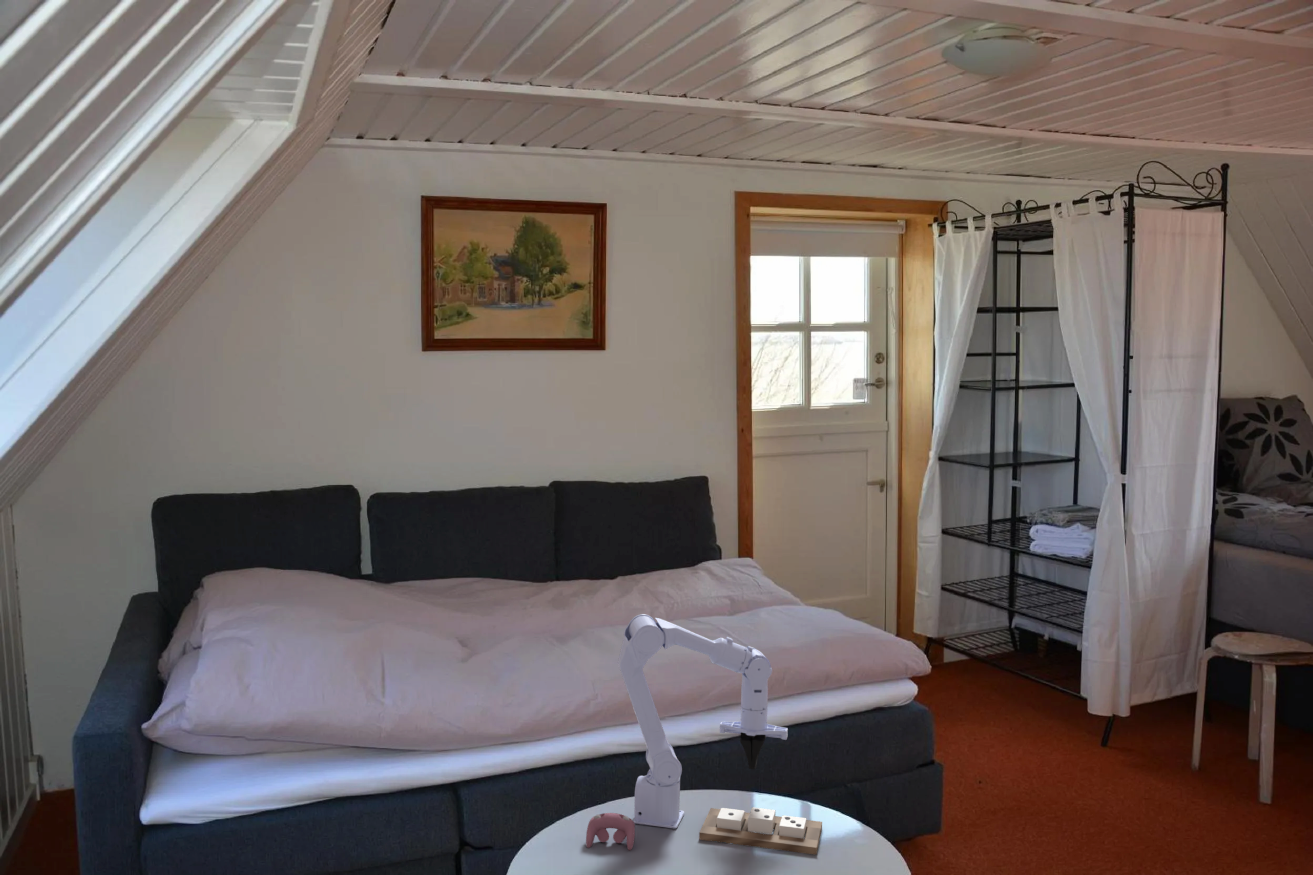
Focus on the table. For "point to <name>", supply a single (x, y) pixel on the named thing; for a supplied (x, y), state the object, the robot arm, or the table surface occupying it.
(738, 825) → the one dot tile
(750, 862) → the table surface
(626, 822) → the video game controller
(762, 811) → the two dot tile
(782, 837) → the tile board
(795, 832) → the three dot tile
